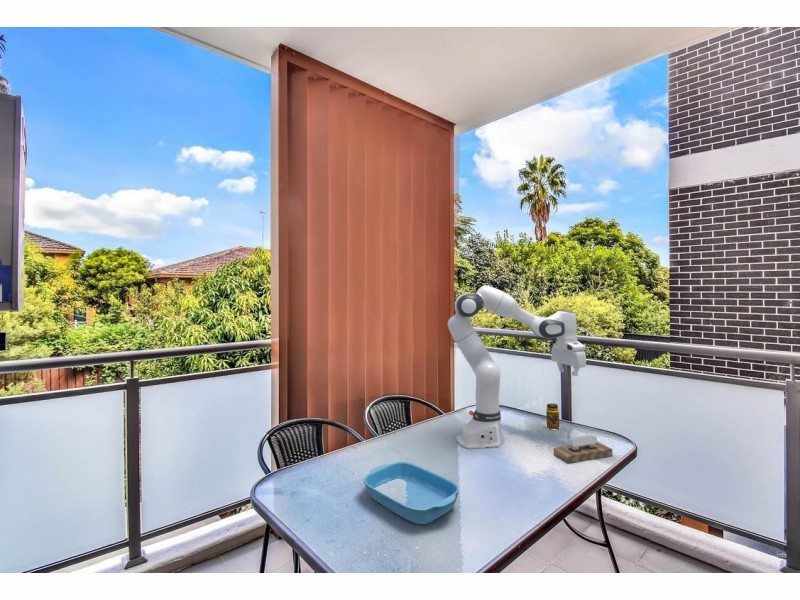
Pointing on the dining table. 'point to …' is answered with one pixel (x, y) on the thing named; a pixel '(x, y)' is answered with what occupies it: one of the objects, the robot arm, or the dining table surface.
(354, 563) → the dining table surface
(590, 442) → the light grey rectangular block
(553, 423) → the condiment
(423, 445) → the dining table surface
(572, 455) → the brown wooden block
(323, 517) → the dining table surface
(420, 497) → the casserole dish
